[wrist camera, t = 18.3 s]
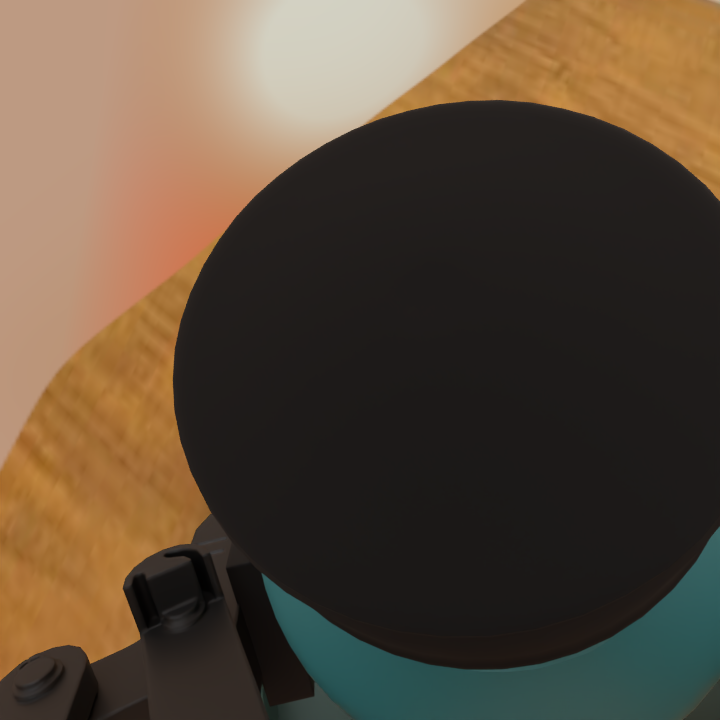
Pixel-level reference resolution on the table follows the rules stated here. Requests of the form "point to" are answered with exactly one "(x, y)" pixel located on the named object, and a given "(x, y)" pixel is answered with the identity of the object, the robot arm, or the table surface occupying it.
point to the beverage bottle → (472, 415)
